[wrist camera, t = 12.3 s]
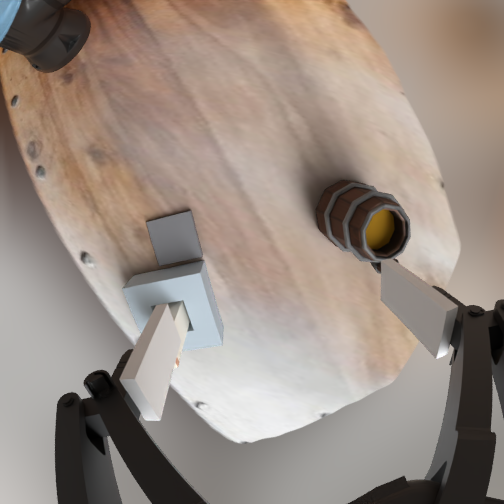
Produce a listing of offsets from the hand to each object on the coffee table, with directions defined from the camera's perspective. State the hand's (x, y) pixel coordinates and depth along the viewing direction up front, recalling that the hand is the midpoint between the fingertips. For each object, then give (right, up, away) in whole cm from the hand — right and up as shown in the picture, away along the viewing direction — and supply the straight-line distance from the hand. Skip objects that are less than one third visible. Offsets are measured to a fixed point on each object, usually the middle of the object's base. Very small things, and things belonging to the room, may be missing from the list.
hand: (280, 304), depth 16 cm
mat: (-15, +5, +30) cm, 34 cm away
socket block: (-15, -6, +34) cm, 38 cm away
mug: (+16, +8, +32) cm, 36 cm away
